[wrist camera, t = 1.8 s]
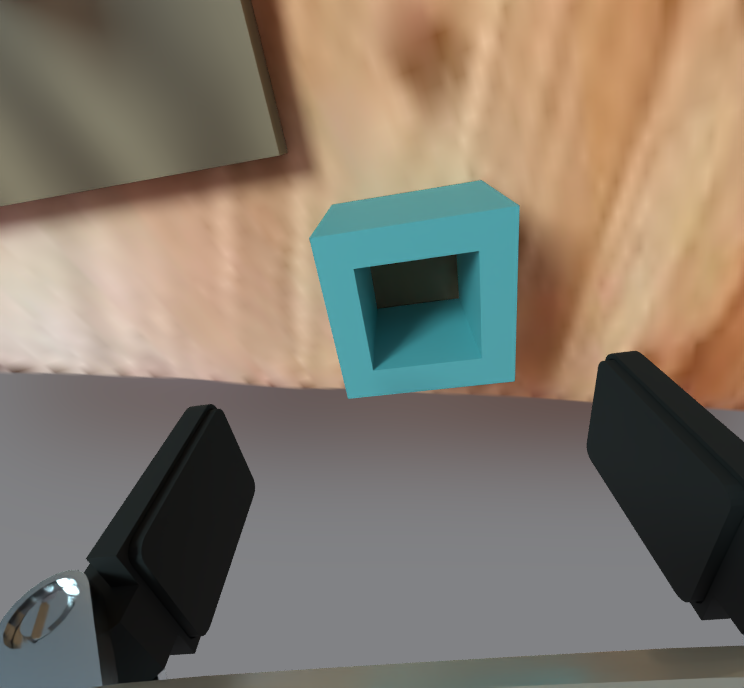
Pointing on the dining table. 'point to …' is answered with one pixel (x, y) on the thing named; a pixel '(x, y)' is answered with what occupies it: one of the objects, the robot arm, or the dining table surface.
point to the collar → (431, 319)
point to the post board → (128, 93)
